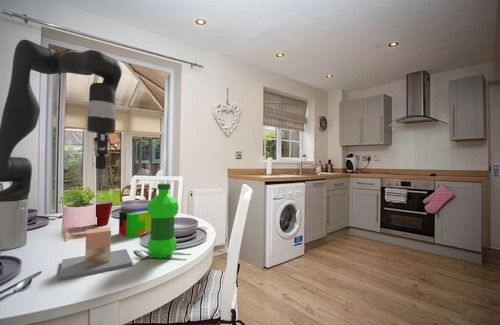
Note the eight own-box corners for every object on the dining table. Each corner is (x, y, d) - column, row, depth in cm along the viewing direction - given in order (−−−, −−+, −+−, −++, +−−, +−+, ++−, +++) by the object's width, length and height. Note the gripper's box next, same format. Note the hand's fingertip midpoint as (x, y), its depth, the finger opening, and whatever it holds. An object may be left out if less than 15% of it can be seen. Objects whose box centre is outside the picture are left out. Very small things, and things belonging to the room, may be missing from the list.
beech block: (85, 266, 71) (85, 249, 71) (85, 260, 75) (85, 245, 75) (110, 261, 75) (110, 246, 75) (108, 256, 79) (109, 241, 79)
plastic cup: (97, 221, 128) (98, 199, 128) (117, 222, 127) (118, 200, 127) (82, 227, 117) (83, 202, 117) (104, 227, 116) (105, 203, 117)
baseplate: (58, 280, 64) (59, 276, 64) (62, 262, 75) (62, 259, 75) (132, 265, 74) (132, 262, 74) (125, 251, 86) (125, 249, 86)
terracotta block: (85, 249, 71) (86, 233, 71) (85, 244, 75) (86, 229, 75) (110, 246, 75) (110, 230, 75) (109, 241, 79) (109, 227, 79)
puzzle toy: (140, 229, 115) (140, 208, 116) (151, 233, 110) (152, 211, 110) (118, 233, 107) (119, 211, 107) (130, 238, 101) (130, 214, 102)
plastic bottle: (183, 252, 87) (184, 183, 87) (164, 263, 77) (166, 185, 77) (160, 248, 90) (161, 182, 90) (139, 258, 80) (141, 184, 80)
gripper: (87, 119, 79) (85, 168, 79) (88, 112, 67) (86, 169, 67) (113, 122, 83) (111, 168, 83) (118, 115, 72) (116, 169, 71)
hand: (100, 168), depth 75 cm, fingers open, 8 cm apart
